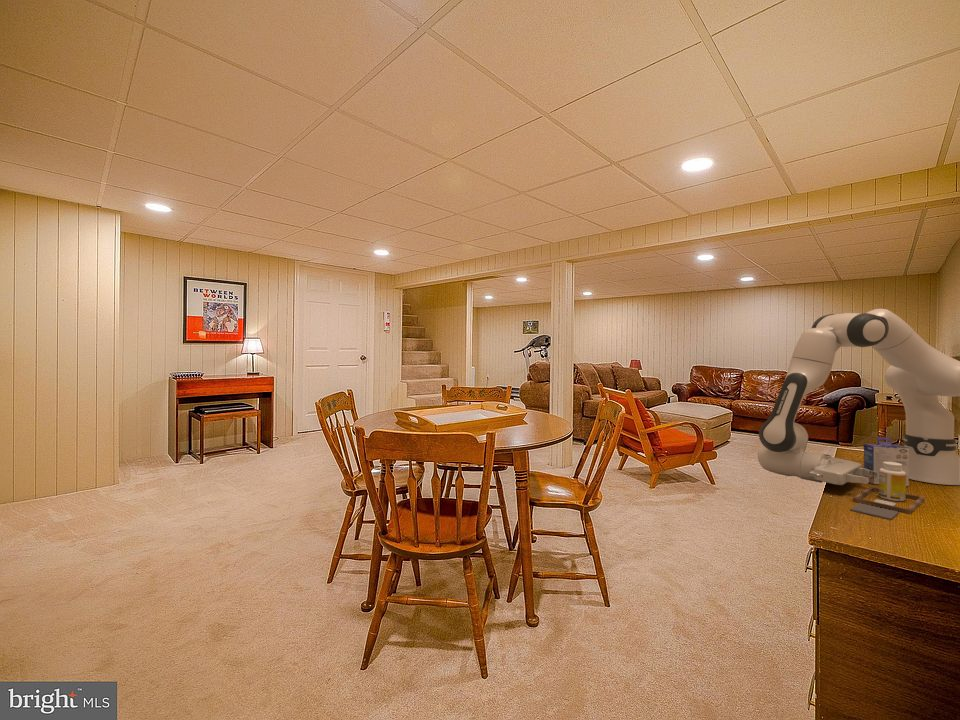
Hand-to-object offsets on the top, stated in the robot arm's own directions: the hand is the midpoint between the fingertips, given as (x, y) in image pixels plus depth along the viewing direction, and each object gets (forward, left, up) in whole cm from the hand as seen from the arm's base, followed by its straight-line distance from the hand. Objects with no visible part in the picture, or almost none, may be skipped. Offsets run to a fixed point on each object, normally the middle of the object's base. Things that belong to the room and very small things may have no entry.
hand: (873, 478), depth 127 cm
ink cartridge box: (-18, -1, -5) cm, 19 cm away
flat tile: (+8, +4, -6) cm, 11 cm away
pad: (+18, +4, -5) cm, 19 cm away
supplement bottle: (0, +4, -5) cm, 7 cm away
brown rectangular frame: (+4, +4, -5) cm, 7 cm away
